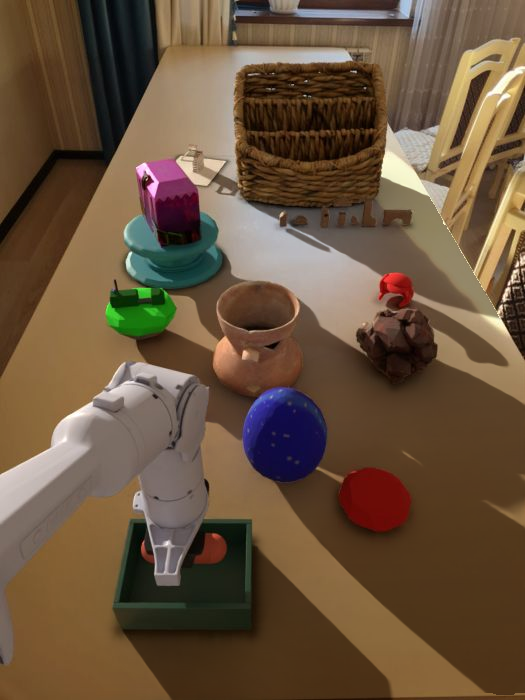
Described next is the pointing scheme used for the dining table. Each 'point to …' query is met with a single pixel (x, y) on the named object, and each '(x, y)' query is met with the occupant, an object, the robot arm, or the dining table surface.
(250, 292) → the ceramic jug
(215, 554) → the red capsule pill
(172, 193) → the decorative object
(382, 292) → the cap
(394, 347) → the mineral specimen
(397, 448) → the dining table surface
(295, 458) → the ornament
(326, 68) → the basket
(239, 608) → the bin
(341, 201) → the wooden blocks
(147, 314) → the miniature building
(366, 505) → the gemstone
